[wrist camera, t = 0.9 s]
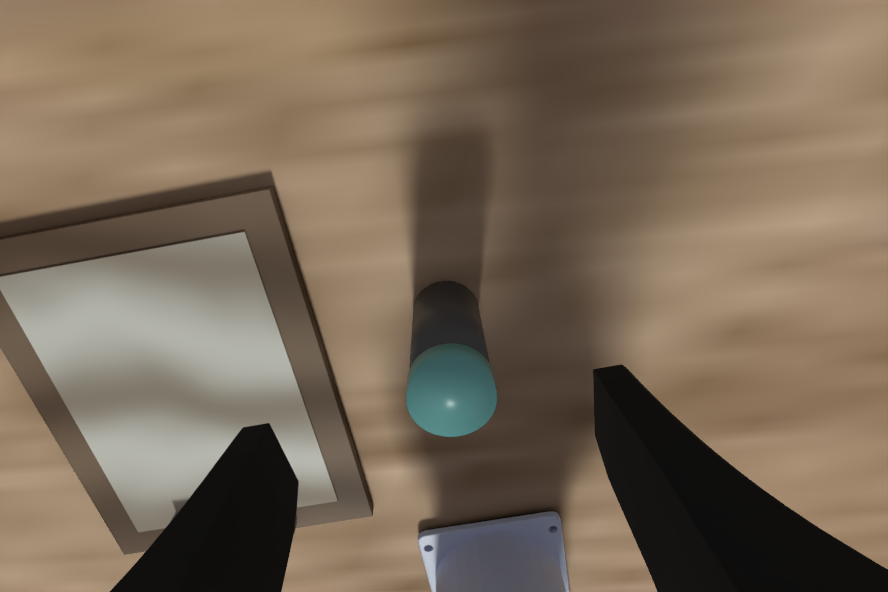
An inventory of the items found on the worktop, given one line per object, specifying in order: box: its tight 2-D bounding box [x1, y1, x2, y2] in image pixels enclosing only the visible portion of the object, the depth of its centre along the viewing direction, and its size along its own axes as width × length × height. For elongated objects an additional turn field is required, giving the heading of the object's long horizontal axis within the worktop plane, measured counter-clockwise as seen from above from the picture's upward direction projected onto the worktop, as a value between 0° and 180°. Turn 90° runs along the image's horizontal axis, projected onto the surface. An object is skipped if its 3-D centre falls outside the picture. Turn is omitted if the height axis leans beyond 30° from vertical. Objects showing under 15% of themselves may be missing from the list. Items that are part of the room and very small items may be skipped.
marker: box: [406, 281, 497, 437], centre depth 21 cm, size 3×3×7 cm
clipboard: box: [0, 186, 373, 555], centre depth 25 cm, size 18×14×2 cm
